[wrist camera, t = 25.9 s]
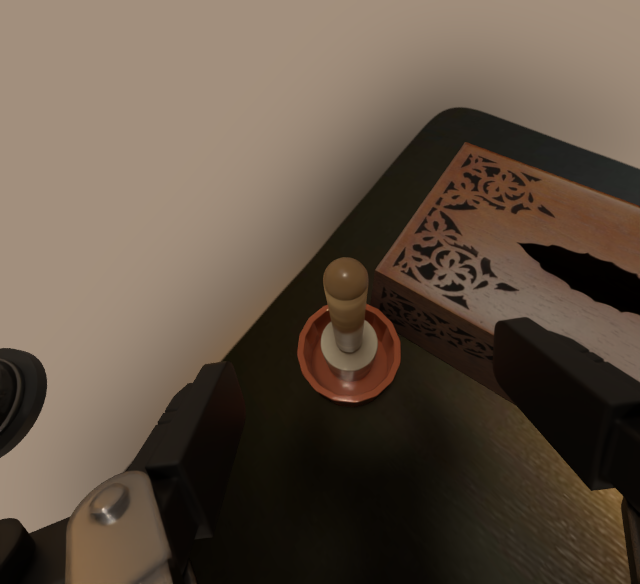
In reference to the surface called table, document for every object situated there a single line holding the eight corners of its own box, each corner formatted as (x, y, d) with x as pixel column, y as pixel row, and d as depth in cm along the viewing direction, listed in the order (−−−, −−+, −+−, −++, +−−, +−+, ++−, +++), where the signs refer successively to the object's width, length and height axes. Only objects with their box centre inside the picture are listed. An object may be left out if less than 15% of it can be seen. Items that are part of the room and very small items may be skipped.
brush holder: (321, 418, 28) (314, 416, 22) (298, 336, 31) (286, 317, 26) (405, 390, 28) (417, 382, 23) (373, 312, 31) (377, 288, 26)
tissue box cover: (368, 315, 31) (375, 269, 22) (436, 215, 35) (465, 142, 26) (660, 493, 23) (857, 536, 14) (705, 338, 27) (881, 295, 18)
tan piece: (335, 388, 28) (311, 335, 12) (320, 344, 30) (280, 244, 14) (380, 372, 28) (418, 297, 12) (362, 328, 30) (374, 212, 14)
